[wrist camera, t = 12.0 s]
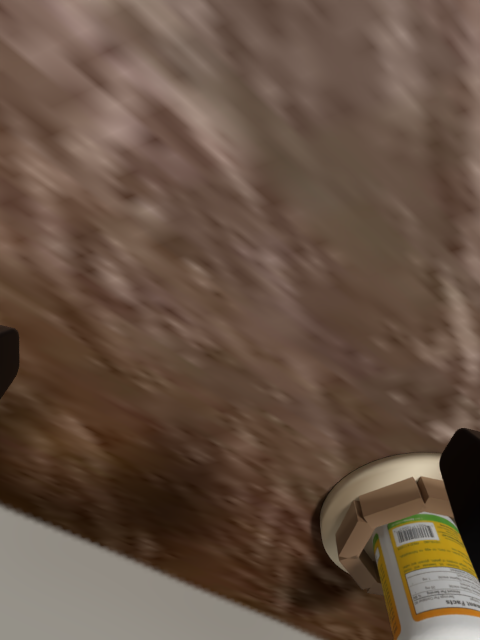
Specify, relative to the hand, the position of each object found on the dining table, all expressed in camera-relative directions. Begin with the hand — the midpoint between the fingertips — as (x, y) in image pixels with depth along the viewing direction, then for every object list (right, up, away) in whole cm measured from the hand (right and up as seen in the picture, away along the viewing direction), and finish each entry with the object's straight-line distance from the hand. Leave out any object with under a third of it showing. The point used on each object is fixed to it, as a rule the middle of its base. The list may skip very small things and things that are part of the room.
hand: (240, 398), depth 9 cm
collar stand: (+11, -12, +20) cm, 26 cm away
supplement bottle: (+11, -12, +20) cm, 26 cm away
